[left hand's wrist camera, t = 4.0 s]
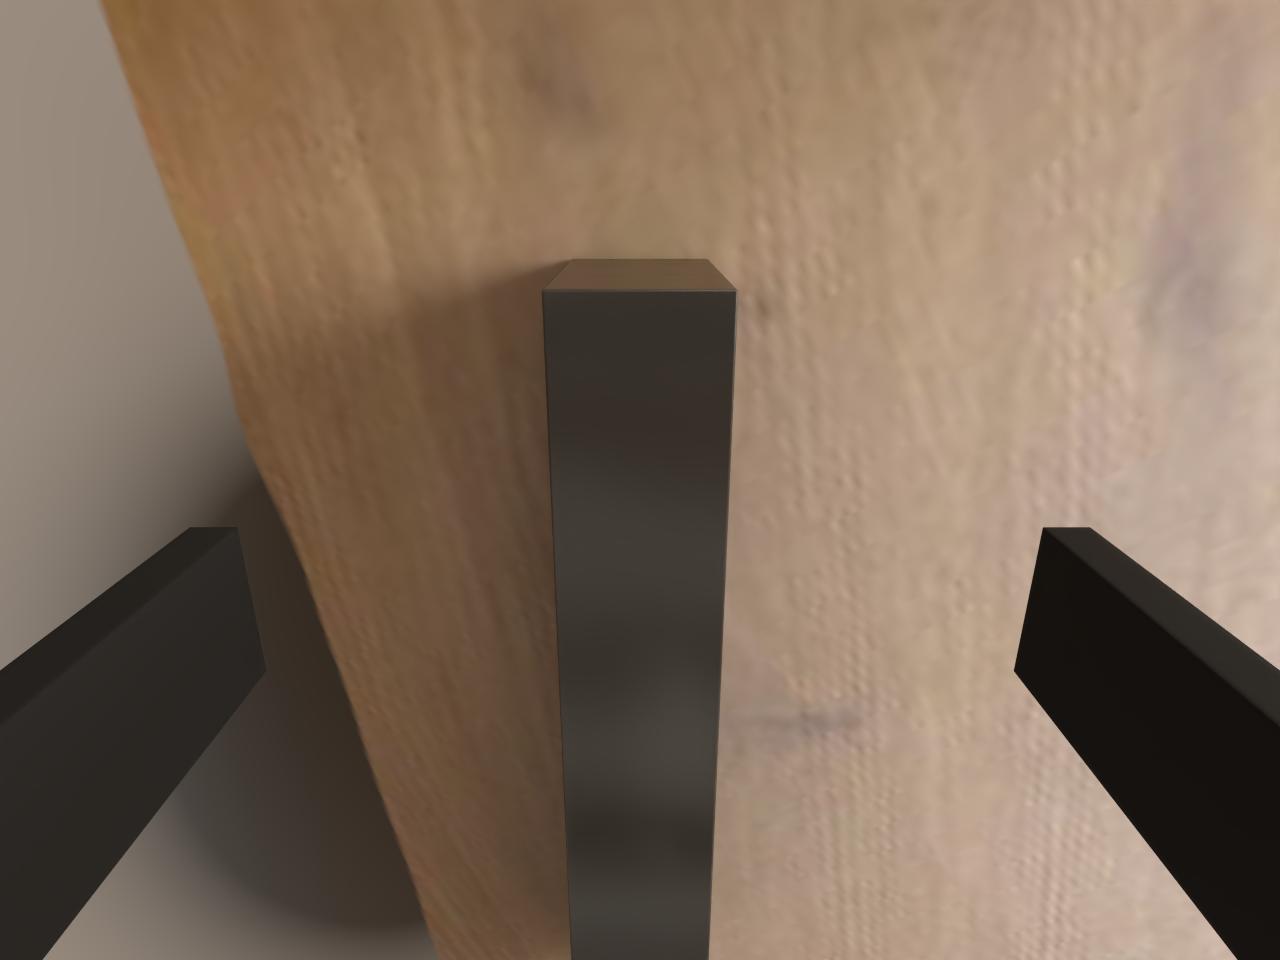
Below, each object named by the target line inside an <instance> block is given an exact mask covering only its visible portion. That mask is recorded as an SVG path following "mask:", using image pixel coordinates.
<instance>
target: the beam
mask: <svg viewBox="0 0 1280 960" xmlns="http://www.w3.org/2000/svg"><path fill="white" fill-rule="evenodd" d="M542 306H543V329H544V351H545V374H546V396H547V419H548V442H549V464H550V487H551V509H552V532H553V555H554V577H555V600H556V622H557V645H558V668H559V690H560V713H561V735H562V758H563V781H564V803H565V826H566V848H567V871H568V894H569V916H570V939H571V960H709V938H710V916H711V893H712V871H713V848H714V825H715V803H716V780H717V758H718V735H719V712H720V690H721V667H722V645H723V622H724V599H725V577H726V554H727V532H728V509H729V486H730V464H731V441H732V419H733V396H734V373H735V351H736V328H737V306H738V291H737V289H736V288H735V287H734V286H733V285H732V284H731V283H730V282H729V281H728V280H727V279H726V278H725V277H724V276H723V275H722V274H721V273H720V271H719V270H718V269H717V268H716V267H715V266H714V265H713V264H712V263H711V262H710V261H709V260H708V259H572V260H571V261H570V262H569V263H568V264H567V265H566V266H565V267H564V268H563V269H562V270H561V271H560V273H559V274H558V275H557V276H556V277H555V278H554V279H553V280H552V281H551V282H550V283H549V284H548V285H547V286H546V287H545V288H544V289H543V291H542Z"/></svg>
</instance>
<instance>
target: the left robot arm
mask: <svg viewBox="0 0 1280 960" xmlns="http://www.w3.org/2000/svg"><path fill="white" fill-rule="evenodd" d="M265 672H266V668H265V663H264V658H263V653H262V648H261V643H260V638H259V634H258V629H257V624H256V619H255V614H254V609H253V604H252V599H251V594H250V589H249V584H248V579H247V574H246V569H245V565H244V560H243V555H242V550H241V545H240V540H239V535H238V530H237V528H236V527H230V528H229V527H201V528H200V527H198V528H197V527H190V528H189V529H187V530H186V531H185V532H183V533H182V534H181V535H179V536H178V537H177V538H175V539H174V540H173V541H171V542H170V543H169V544H167V545H166V546H165V547H163V548H162V549H161V550H159V551H158V552H157V553H155V554H154V555H153V556H151V557H150V558H149V559H147V560H146V561H145V562H143V563H142V564H141V565H140V566H138V567H137V568H136V569H134V570H133V571H132V572H130V573H129V574H128V575H126V576H125V577H124V578H122V579H121V580H120V581H118V582H117V583H116V584H114V585H113V586H112V587H110V588H109V589H108V590H106V591H105V592H104V593H102V594H101V595H100V596H98V597H97V598H96V599H94V600H93V601H92V602H90V603H89V604H88V605H87V606H85V607H84V608H83V609H81V610H80V611H79V612H77V613H76V614H75V615H73V616H72V617H71V618H69V619H68V620H67V621H65V622H64V623H63V624H61V625H60V626H59V627H57V628H56V629H55V630H53V631H52V632H51V633H49V634H48V635H47V636H45V637H44V638H43V639H41V640H40V641H39V642H37V643H36V644H35V645H33V646H32V647H31V648H29V649H28V650H27V651H26V652H24V653H23V654H21V655H20V656H19V657H18V658H16V659H15V660H14V661H12V662H11V663H10V664H8V665H7V666H6V667H4V668H3V669H2V670H0V960H43V958H44V957H45V956H46V955H47V953H48V952H49V951H50V949H51V948H52V947H53V945H54V944H55V943H56V942H57V940H58V939H59V938H60V936H61V935H62V934H63V933H64V931H65V930H66V929H67V927H68V926H69V925H70V924H71V922H72V921H73V920H74V918H75V917H76V916H77V914H78V913H79V912H80V911H81V909H82V908H83V907H84V905H85V904H86V903H87V902H88V900H89V899H90V898H91V896H92V895H93V894H94V893H95V891H96V890H97V889H98V887H99V886H100V885H101V883H102V882H103V881H104V880H105V878H106V877H107V876H108V874H109V873H110V872H111V871H112V869H113V868H114V867H115V865H116V864H117V863H118V861H119V860H120V859H121V858H122V856H123V855H124V854H125V852H126V851H127V850H128V849H129V847H130V846H131V845H132V843H133V842H134V841H135V840H136V838H137V837H138V836H139V834H140V833H141V832H142V831H143V829H144V828H145V827H146V825H147V824H148V823H149V821H150V820H151V819H152V818H153V816H154V815H155V814H156V812H157V811H158V810H159V809H160V807H161V806H162V805H163V803H164V802H165V801H166V799H167V798H168V797H169V796H170V794H171V793H172V792H173V790H174V789H175V788H176V787H177V785H178V784H179V783H180V781H181V780H182V779H183V778H184V776H185V775H186V774H187V772H188V771H189V770H190V768H191V767H192V766H193V765H194V763H195V762H196V761H197V760H198V758H199V757H200V756H201V754H202V753H203V752H204V750H205V749H206V748H207V747H208V745H209V744H210V743H211V741H212V740H213V739H214V738H215V736H216V735H217V734H218V732H219V731H220V730H221V729H222V727H223V726H224V725H225V723H226V722H227V721H228V719H229V718H230V717H231V716H232V714H233V713H234V712H235V710H236V709H237V708H238V707H239V705H240V704H241V703H242V701H243V700H244V699H245V698H246V696H247V695H248V694H249V692H250V691H251V690H252V688H253V687H254V686H255V684H256V683H257V682H258V681H259V679H260V678H261V677H262V676H263V674H264V673H265ZM1014 672H1015V673H1016V674H1017V676H1018V677H1019V678H1020V679H1021V681H1022V682H1023V683H1024V685H1025V686H1026V687H1027V688H1028V690H1029V691H1030V692H1031V694H1032V695H1033V696H1034V698H1035V699H1036V700H1037V701H1038V703H1039V704H1040V705H1041V707H1042V708H1043V709H1044V710H1045V712H1046V713H1047V714H1048V716H1049V717H1050V718H1051V719H1052V721H1053V722H1054V723H1055V725H1056V726H1057V727H1058V729H1059V730H1060V731H1061V732H1062V734H1063V735H1064V736H1065V738H1066V739H1067V740H1068V741H1069V743H1070V744H1071V745H1072V747H1073V748H1074V749H1075V750H1076V752H1077V753H1078V754H1079V756H1080V757H1081V758H1082V760H1083V761H1084V762H1085V763H1086V765H1087V766H1088V767H1089V769H1090V770H1091V771H1092V772H1093V774H1094V775H1095V776H1096V778H1097V779H1098V780H1099V781H1100V783H1101V784H1102V785H1103V787H1104V788H1105V789H1106V791H1107V792H1108V793H1109V794H1110V796H1111V797H1112V798H1113V800H1114V801H1115V802H1116V803H1117V805H1118V806H1119V807H1120V809H1121V810H1122V811H1123V812H1124V814H1125V815H1126V816H1127V818H1128V819H1129V820H1130V822H1131V823H1132V824H1133V825H1134V827H1135V828H1136V829H1137V831H1138V832H1139V833H1140V834H1141V836H1142V837H1143V838H1144V840H1145V841H1146V842H1147V843H1148V845H1149V846H1150V847H1151V849H1152V850H1153V851H1154V853H1155V854H1156V855H1157V856H1158V858H1159V859H1160V860H1161V862H1162V863H1163V864H1164V865H1165V867H1166V868H1167V869H1168V871H1169V872H1170V873H1171V874H1172V876H1173V877H1174V878H1175V880H1176V881H1177V882H1178V883H1179V885H1180V886H1181V887H1182V889H1183V890H1184V891H1185V893H1186V894H1187V895H1188V896H1189V898H1190V899H1191V900H1192V902H1193V903H1194V904H1195V905H1196V907H1197V908H1198V909H1199V911H1200V912H1201V913H1202V914H1203V916H1204V917H1205V918H1206V920H1207V921H1208V922H1209V924H1210V925H1211V926H1212V927H1213V929H1214V930H1215V931H1216V933H1217V934H1218V935H1219V936H1220V938H1221V939H1222V940H1223V942H1224V943H1225V944H1226V945H1227V947H1228V948H1229V949H1230V951H1231V952H1232V953H1233V955H1234V956H1235V957H1236V958H1237V960H1280V670H1278V669H1277V668H1276V667H1274V666H1273V665H1272V664H1270V663H1269V662H1268V661H1266V660H1265V659H1264V658H1263V657H1261V656H1260V655H1259V654H1257V653H1256V652H1255V651H1253V650H1252V649H1251V648H1249V647H1248V646H1247V645H1245V644H1244V643H1243V642H1241V641H1240V640H1239V639H1237V638H1236V637H1235V636H1233V635H1232V634H1231V633H1229V632H1228V631H1227V630H1225V629H1224V628H1223V627H1221V626H1220V625H1219V624H1217V623H1216V622H1215V621H1213V620H1212V619H1211V618H1209V617H1208V616H1207V615H1205V614H1204V613H1203V612H1202V611H1200V610H1199V609H1198V608H1196V607H1195V606H1194V605H1192V604H1191V603H1190V602H1188V601H1187V600H1186V599H1184V598H1183V597H1182V596H1180V595H1179V594H1178V593H1176V592H1175V591H1174V590H1172V589H1171V588H1170V587H1168V586H1167V585H1166V584H1164V583H1163V582H1162V581H1160V580H1159V579H1158V578H1156V577H1155V576H1154V575H1152V574H1151V573H1150V572H1148V571H1147V570H1146V569H1144V568H1143V567H1142V566H1141V565H1139V564H1138V563H1137V562H1135V561H1134V560H1133V559H1131V558H1130V557H1129V556H1127V555H1126V554H1125V553H1123V552H1122V551H1121V550H1119V549H1118V548H1117V547H1115V546H1114V545H1113V544H1111V543H1110V542H1109V541H1107V540H1106V539H1105V538H1103V537H1102V536H1101V535H1099V534H1098V533H1097V532H1095V531H1094V530H1093V529H1091V528H1090V527H1043V530H1042V535H1041V540H1040V545H1039V550H1038V555H1037V560H1036V565H1035V569H1034V574H1033V579H1032V584H1031V589H1030V594H1029V599H1028V604H1027V609H1026V614H1025V619H1024V624H1023V628H1022V633H1021V638H1020V643H1019V648H1018V653H1017V658H1016V663H1015V668H1014Z"/></svg>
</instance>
